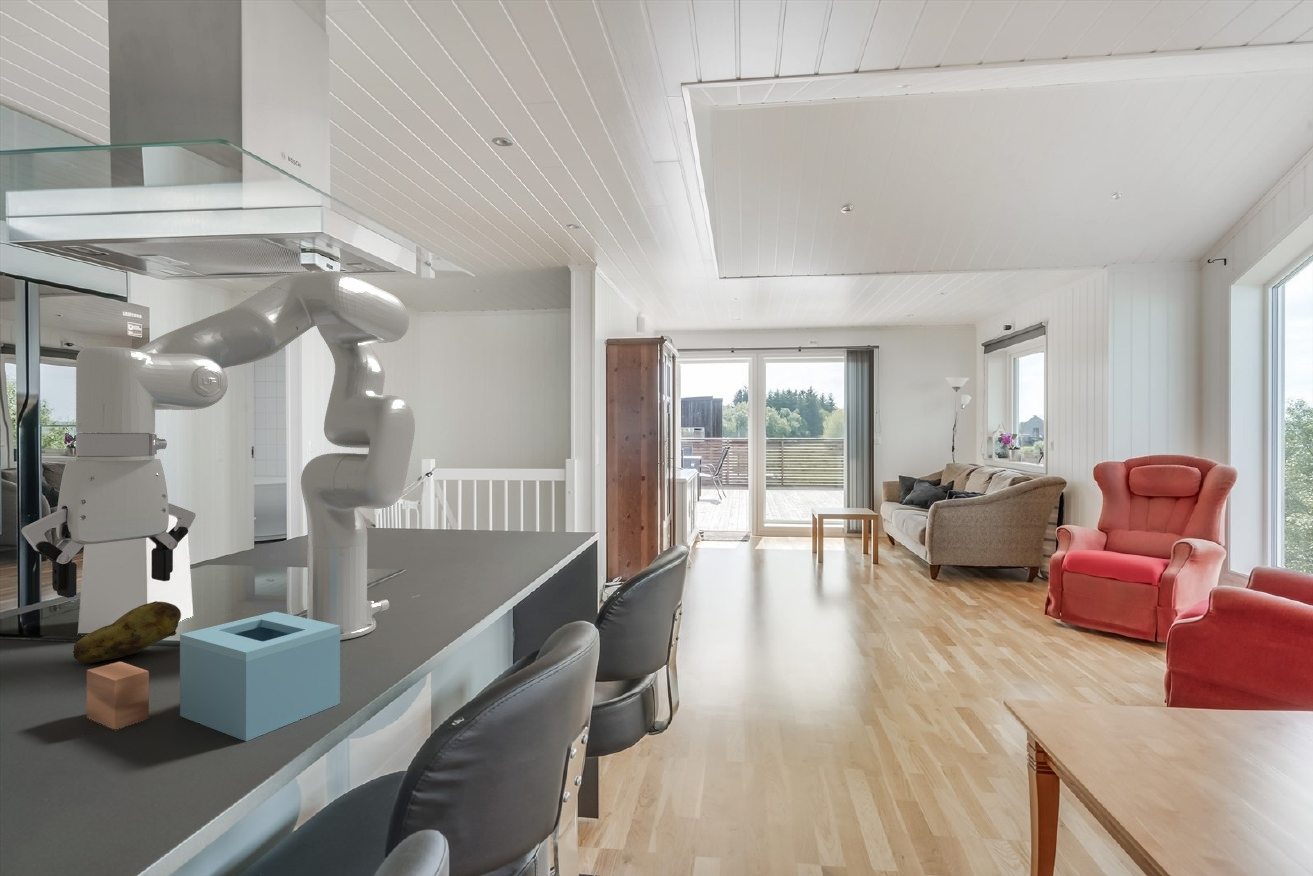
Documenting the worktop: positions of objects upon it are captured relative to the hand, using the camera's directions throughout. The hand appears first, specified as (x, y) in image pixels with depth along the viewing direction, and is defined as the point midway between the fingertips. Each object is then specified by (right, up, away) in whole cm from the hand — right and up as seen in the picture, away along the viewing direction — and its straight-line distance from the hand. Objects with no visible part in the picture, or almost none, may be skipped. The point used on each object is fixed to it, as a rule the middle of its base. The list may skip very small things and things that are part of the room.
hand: (116, 587), depth 81 cm
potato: (-16, -16, +23) cm, 32 cm away
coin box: (+16, -16, +3) cm, 23 cm away
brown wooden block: (0, -16, 0) cm, 16 cm away
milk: (-28, -16, +39) cm, 51 cm away
